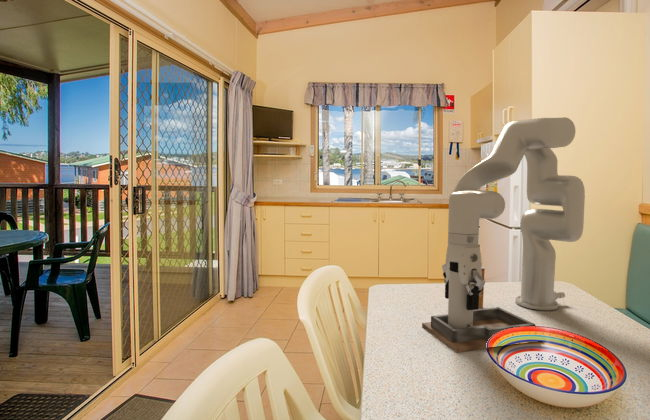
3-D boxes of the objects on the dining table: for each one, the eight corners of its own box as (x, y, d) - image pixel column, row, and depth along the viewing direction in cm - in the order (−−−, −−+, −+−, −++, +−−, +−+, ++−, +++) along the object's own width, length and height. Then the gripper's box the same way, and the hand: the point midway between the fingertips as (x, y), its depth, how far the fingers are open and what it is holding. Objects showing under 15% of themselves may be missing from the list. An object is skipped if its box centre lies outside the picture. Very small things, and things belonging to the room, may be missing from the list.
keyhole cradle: (497, 318, 118) (498, 305, 118) (542, 341, 102) (543, 326, 102) (422, 326, 112) (422, 312, 112) (456, 352, 96) (457, 336, 95)
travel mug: (475, 337, 102) (478, 261, 100) (448, 335, 103) (450, 259, 101) (471, 328, 108) (474, 256, 106) (446, 326, 109) (448, 255, 107)
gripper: (497, 244, 96) (495, 313, 97) (456, 234, 112) (454, 293, 114) (470, 245, 94) (468, 316, 95) (432, 235, 110) (431, 295, 112)
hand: (461, 303), depth 105 cm, fingers open, 9 cm apart
